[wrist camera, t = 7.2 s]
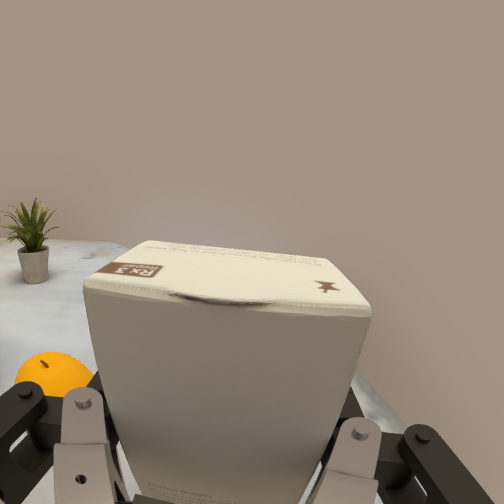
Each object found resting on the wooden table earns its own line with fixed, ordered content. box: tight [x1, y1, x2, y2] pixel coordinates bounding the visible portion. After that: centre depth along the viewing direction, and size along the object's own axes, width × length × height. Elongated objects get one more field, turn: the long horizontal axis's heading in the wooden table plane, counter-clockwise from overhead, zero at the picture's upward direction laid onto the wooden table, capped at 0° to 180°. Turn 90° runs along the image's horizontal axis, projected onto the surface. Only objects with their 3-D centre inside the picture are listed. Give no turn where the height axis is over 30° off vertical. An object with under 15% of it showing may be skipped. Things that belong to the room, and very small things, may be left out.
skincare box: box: [83, 240, 372, 504], centre depth 9 cm, size 6×4×12 cm
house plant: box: [2, 199, 59, 284], centre depth 44 cm, size 14×14×16 cm
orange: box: [14, 352, 94, 397], centre depth 16 cm, size 8×8×8 cm
